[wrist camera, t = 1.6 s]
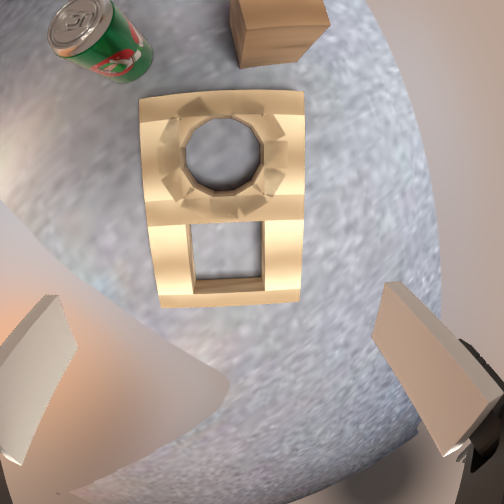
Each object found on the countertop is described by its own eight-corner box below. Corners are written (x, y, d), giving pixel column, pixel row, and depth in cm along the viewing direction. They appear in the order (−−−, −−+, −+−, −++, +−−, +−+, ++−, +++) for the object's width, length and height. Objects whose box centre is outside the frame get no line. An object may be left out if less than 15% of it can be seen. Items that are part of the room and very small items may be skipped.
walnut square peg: (229, 23, 20) (230, -30, 11) (284, 17, 20) (310, -33, 11) (240, 69, 22) (246, 29, 13) (296, 62, 22) (330, 25, 13)
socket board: (148, 103, 23) (139, 99, 20) (296, 96, 24) (303, 91, 21) (166, 293, 30) (161, 307, 27) (293, 287, 31) (299, 301, 28)
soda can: (118, 38, 19) (62, -7, 8) (161, 42, 20) (121, -13, 9) (101, 81, 21) (32, 56, 10) (144, 87, 22) (88, 54, 11)
